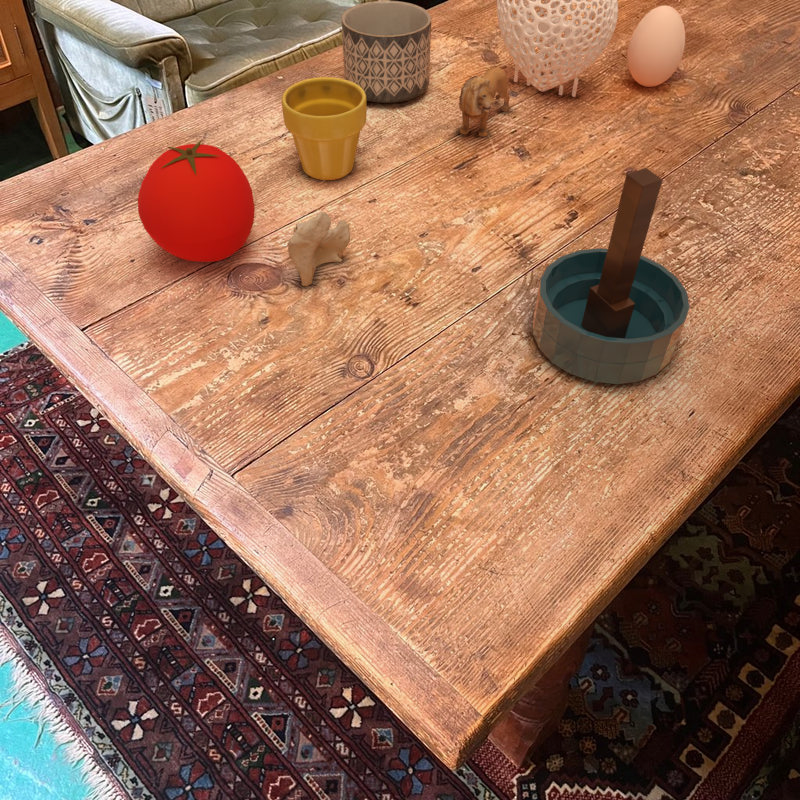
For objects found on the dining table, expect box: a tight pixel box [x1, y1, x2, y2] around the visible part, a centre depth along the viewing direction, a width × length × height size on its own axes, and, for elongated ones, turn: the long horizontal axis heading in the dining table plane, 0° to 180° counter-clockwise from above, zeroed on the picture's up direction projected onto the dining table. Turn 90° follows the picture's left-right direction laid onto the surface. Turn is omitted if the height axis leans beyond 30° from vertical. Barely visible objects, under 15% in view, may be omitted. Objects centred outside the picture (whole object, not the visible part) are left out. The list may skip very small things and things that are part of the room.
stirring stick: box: [581, 167, 663, 339], centre depth 72 cm, size 4×2×18 cm, turn 28°
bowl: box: [532, 247, 691, 385], centre depth 77 cm, size 14×14×6 cm
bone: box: [287, 211, 351, 287], centre depth 84 cm, size 9×6×10 cm
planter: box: [341, 0, 432, 104], centre depth 112 cm, size 13×13×10 cm
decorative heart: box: [496, 0, 619, 98], centre depth 110 cm, size 18×11×17 cm, turn 53°
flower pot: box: [281, 76, 368, 181], centre depth 97 cm, size 10×10×10 cm
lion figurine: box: [458, 66, 511, 138], centre depth 106 cm, size 15×5×9 cm, turn 161°
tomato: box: [137, 139, 256, 263], centre depth 84 cm, size 12×12×13 cm
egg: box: [626, 4, 686, 88], centre depth 114 cm, size 8×8×11 cm
